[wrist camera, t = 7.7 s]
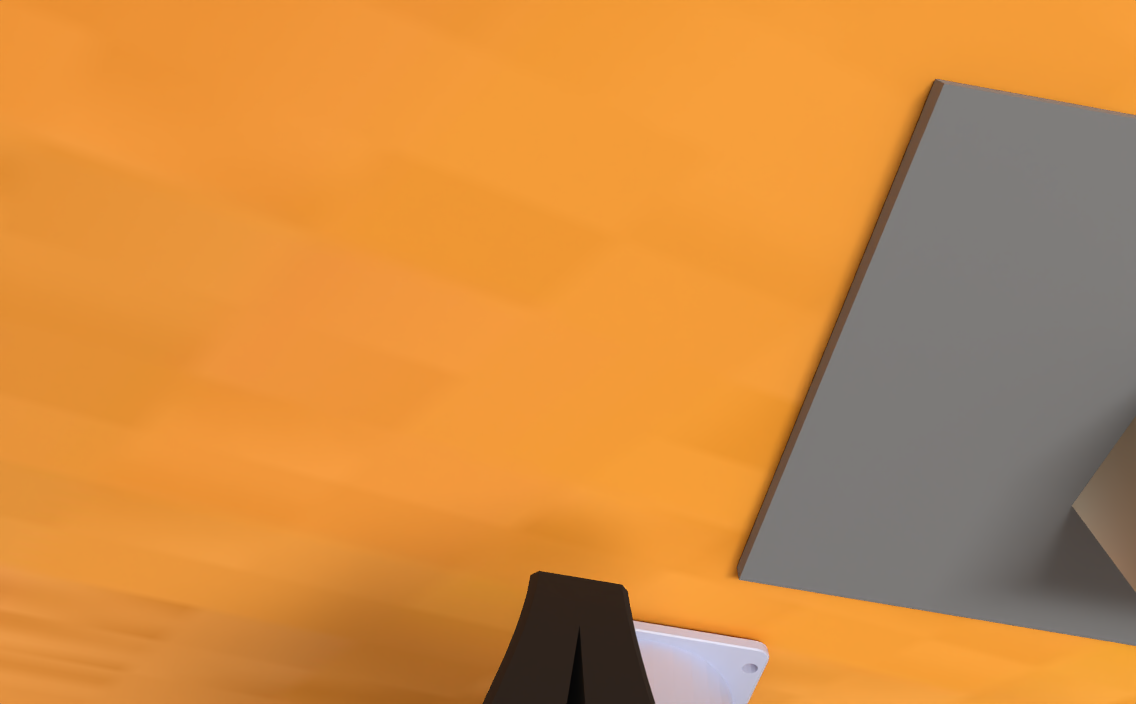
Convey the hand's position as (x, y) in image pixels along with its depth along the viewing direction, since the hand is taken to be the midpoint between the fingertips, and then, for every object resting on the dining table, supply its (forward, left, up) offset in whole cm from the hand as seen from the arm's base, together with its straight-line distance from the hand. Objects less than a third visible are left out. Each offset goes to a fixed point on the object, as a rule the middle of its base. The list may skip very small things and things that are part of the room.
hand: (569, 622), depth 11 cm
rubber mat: (0, -15, -9) cm, 18 cm away
